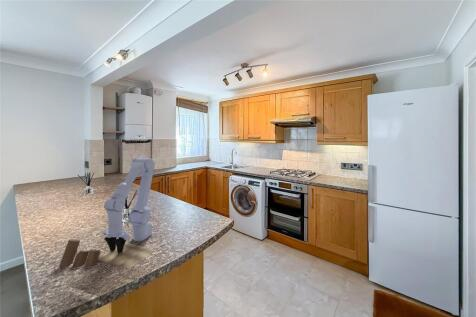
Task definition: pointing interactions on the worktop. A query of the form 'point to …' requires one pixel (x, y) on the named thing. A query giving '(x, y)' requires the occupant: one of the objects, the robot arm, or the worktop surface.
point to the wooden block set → (78, 255)
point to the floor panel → (133, 260)
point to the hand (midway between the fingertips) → (116, 251)
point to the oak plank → (115, 253)
